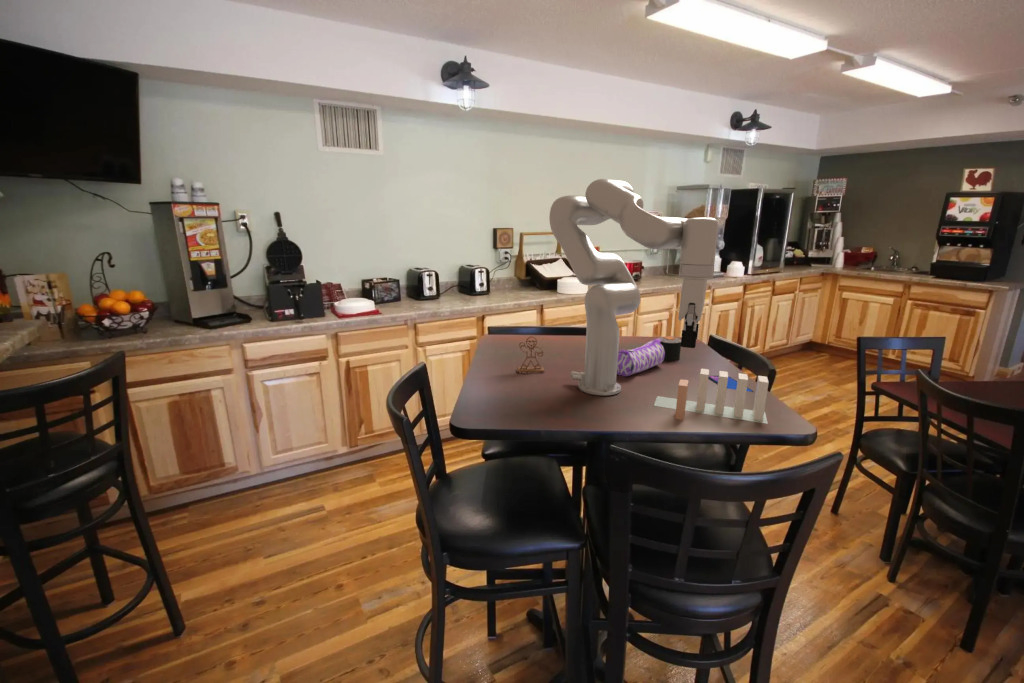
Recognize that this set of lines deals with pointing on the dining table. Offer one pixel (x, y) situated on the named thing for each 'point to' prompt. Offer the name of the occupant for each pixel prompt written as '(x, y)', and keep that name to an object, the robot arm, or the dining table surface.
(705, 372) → the domino
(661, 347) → the pencil case
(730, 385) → the smartphone
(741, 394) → the domino
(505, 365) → the dining table surface
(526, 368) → the gingerbread man figurine
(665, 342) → the sushi
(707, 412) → the board
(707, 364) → the dining table surface
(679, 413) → the domino
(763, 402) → the domino
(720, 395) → the domino
